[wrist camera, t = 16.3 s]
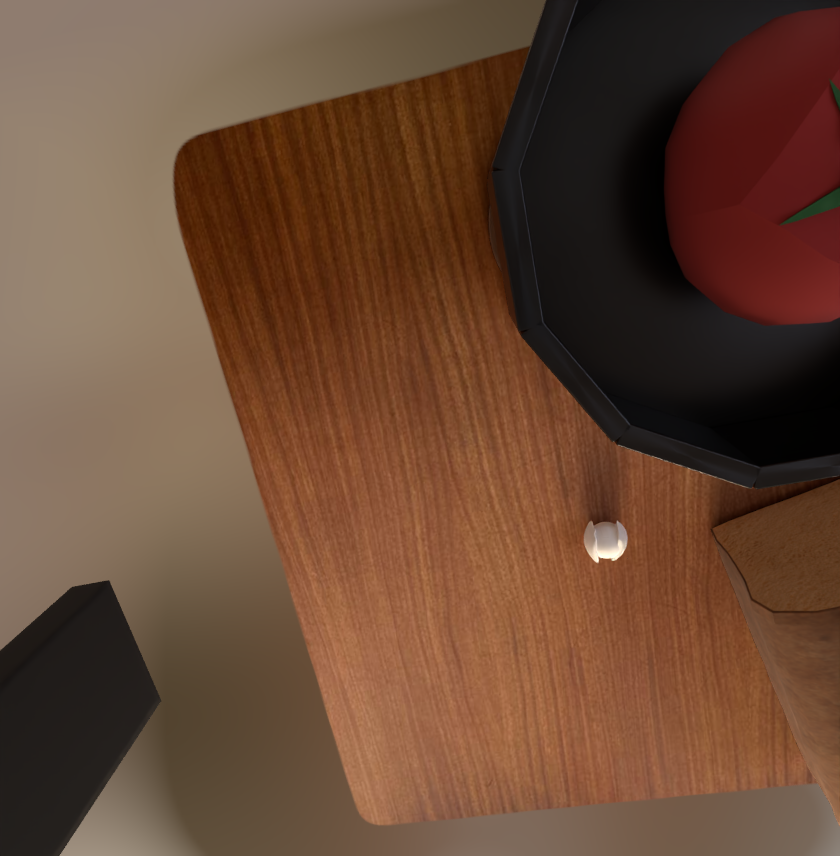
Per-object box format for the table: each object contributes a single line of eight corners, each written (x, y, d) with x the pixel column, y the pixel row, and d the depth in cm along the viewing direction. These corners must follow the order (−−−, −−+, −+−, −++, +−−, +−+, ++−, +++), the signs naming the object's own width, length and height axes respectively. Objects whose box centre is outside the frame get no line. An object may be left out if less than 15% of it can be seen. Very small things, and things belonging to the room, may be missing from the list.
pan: (458, 125, 46) (444, -105, 15) (868, 20, 42) (2013, -587, 11) (498, 347, 51) (551, 523, 20) (868, 272, 47) (1652, 346, 16)
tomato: (933, 130, 19) (1196, 72, 12) (773, 349, 22) (915, 402, 15) (723, 1, 18) (874, -137, 12) (581, 241, 21) (638, 244, 14)
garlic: (588, 505, 55) (574, 547, 57) (593, 523, 52) (578, 567, 54) (642, 517, 55) (627, 559, 56) (651, 536, 52) (634, 579, 53)
